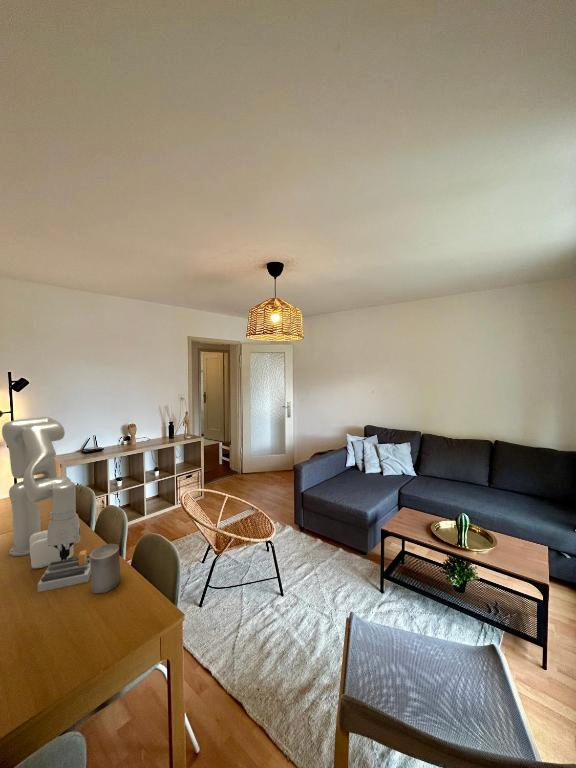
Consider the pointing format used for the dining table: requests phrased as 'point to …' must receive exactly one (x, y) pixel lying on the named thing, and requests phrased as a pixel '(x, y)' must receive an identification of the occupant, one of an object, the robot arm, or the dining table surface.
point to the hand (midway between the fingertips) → (64, 558)
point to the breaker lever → (83, 558)
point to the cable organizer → (44, 551)
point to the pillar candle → (105, 568)
